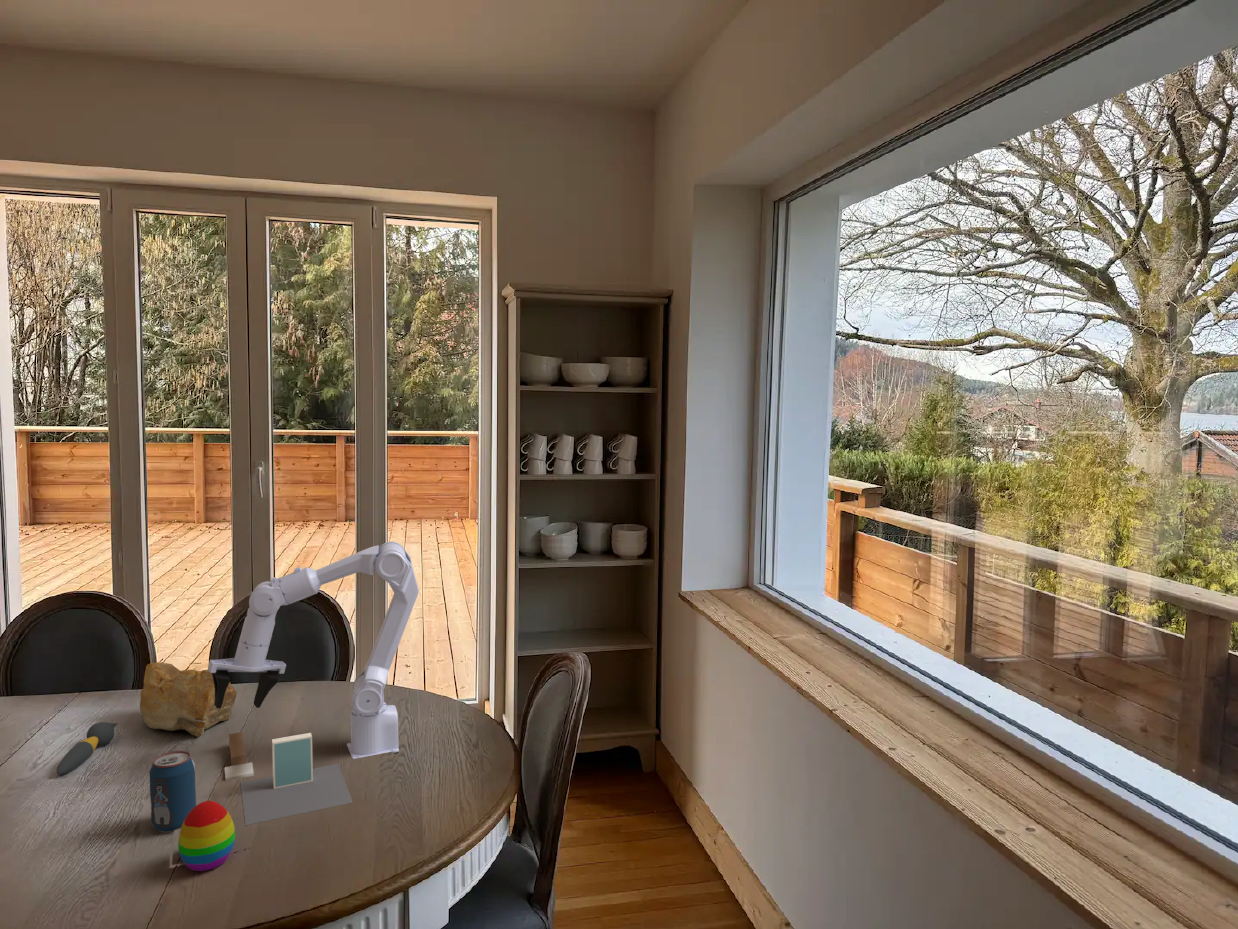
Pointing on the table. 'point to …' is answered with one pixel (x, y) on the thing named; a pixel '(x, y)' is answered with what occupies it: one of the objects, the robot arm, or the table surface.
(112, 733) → the paintbrush
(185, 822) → the decorative egg
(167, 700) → the rough brown rock
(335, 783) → the mat
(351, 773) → the table surface
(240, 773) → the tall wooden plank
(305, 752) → the tile
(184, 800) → the soda can
